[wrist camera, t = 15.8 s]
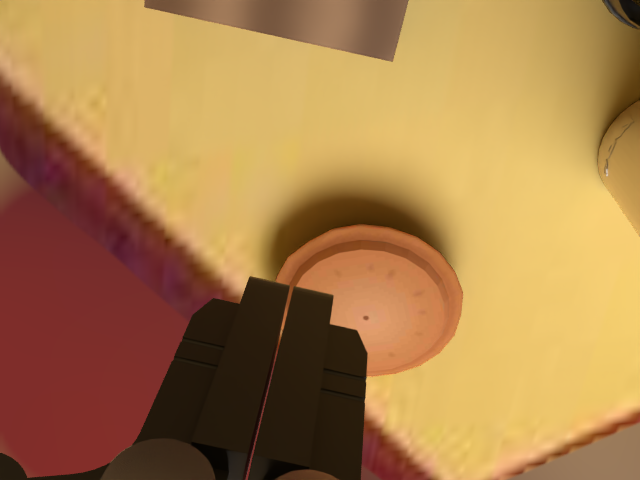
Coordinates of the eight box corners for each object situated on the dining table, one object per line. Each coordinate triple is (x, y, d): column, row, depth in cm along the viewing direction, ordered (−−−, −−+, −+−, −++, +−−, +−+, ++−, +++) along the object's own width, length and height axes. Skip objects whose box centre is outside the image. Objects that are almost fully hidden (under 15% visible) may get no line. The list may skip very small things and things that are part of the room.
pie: (495, 254, 50) (505, 290, 46) (399, 371, 58) (400, 412, 54) (329, 171, 47) (324, 201, 43) (252, 306, 55) (241, 342, 51)
